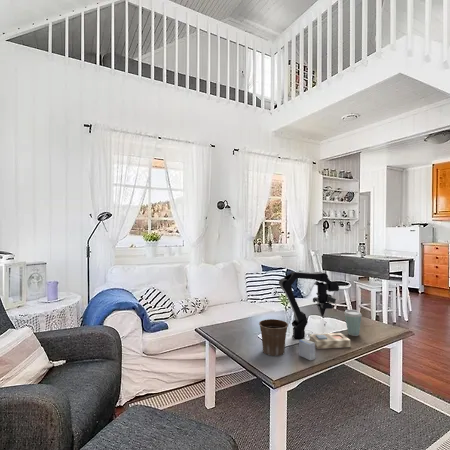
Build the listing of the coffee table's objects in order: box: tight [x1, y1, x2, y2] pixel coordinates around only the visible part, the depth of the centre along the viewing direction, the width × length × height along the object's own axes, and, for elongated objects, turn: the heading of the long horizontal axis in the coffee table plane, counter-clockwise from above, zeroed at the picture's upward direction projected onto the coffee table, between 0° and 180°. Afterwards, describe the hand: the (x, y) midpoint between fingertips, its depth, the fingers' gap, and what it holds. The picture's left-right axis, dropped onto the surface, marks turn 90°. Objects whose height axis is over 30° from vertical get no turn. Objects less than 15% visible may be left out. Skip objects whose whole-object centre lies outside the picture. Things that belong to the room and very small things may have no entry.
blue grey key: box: [316, 335, 327, 340], centre depth 183 cm, size 5×5×3 cm
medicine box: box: [298, 338, 316, 361], centre depth 165 cm, size 8×4×9 cm, turn 33°
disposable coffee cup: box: [343, 309, 363, 337], centre depth 198 cm, size 11×11×15 cm
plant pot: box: [258, 318, 289, 357], centre depth 173 cm, size 16×16×16 cm
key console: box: [309, 332, 351, 350], centre depth 183 cm, size 20×12×4 cm, turn 96°
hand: (322, 316), depth 196 cm, fingers closed
